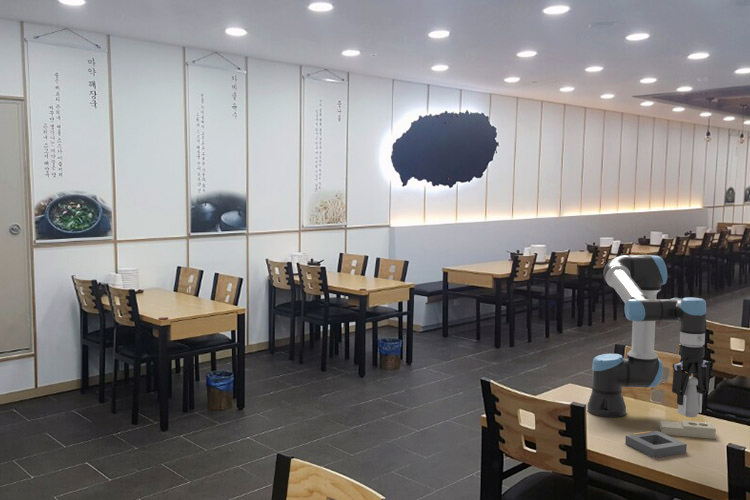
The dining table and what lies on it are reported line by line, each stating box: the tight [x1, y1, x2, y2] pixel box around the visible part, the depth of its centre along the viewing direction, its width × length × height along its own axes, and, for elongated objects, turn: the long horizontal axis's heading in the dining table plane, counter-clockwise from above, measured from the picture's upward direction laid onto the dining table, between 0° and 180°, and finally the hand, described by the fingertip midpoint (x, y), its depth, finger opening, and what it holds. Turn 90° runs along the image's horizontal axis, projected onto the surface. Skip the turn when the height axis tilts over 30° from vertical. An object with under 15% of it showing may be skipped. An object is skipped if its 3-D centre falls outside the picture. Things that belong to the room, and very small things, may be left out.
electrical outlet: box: [659, 420, 717, 439], centre depth 248 cm, size 7×4×18 cm
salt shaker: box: [683, 376, 700, 418], centre depth 222 cm, size 6×6×13 cm
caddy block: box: [625, 430, 688, 459], centre depth 233 cm, size 14×14×3 cm
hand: (689, 412), depth 222 cm, fingers closed on salt shaker, 6 cm apart
